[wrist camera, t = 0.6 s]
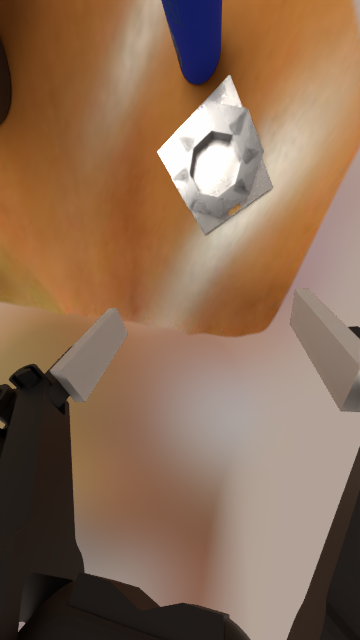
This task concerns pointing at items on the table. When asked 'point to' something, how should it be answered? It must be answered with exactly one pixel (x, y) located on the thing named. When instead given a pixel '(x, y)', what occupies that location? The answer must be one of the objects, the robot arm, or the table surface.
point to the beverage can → (195, 36)
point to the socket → (217, 159)
